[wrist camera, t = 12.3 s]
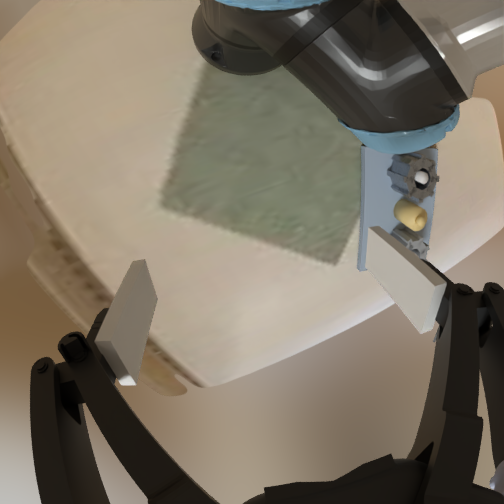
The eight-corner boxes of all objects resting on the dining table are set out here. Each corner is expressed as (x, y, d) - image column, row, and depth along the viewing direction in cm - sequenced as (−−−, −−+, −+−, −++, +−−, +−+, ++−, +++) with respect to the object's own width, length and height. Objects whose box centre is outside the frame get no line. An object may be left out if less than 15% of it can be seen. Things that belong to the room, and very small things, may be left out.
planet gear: (394, 200, 43) (410, 209, 38) (381, 160, 39) (399, 166, 35) (424, 182, 42) (442, 190, 37) (414, 144, 38) (432, 148, 34)
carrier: (361, 145, 39) (385, 152, 33) (433, 148, 40) (460, 155, 34) (357, 268, 49) (374, 289, 43) (422, 255, 50) (443, 272, 44)
